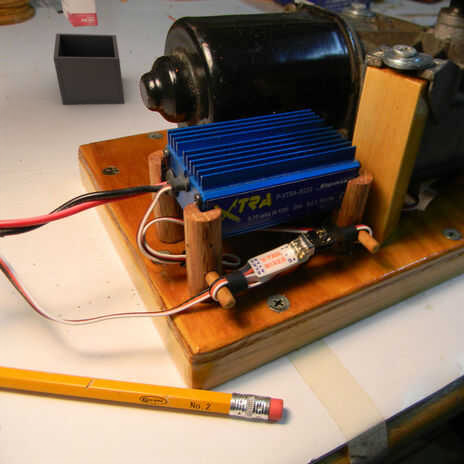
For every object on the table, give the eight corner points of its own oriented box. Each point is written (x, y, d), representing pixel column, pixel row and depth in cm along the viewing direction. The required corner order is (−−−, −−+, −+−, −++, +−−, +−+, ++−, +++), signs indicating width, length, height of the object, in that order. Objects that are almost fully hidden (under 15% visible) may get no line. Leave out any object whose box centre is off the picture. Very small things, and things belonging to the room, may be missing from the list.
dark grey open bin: (62, 104, 99) (53, 57, 92) (64, 77, 108) (55, 33, 102) (124, 103, 103) (119, 58, 97) (120, 77, 113) (115, 35, 106)
